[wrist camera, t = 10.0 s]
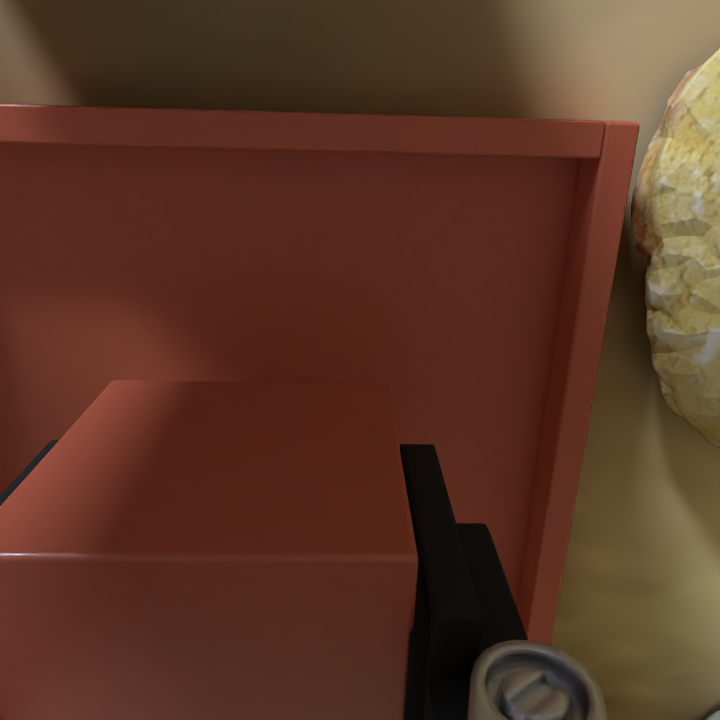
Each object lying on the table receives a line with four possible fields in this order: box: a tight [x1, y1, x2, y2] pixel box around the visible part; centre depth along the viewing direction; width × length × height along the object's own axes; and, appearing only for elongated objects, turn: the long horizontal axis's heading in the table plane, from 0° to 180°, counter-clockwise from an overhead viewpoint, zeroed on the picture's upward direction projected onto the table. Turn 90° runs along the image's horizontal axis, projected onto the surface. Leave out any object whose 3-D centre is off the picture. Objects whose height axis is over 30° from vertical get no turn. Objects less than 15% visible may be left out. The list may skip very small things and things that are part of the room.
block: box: [0, 380, 418, 720], centre depth 9 cm, size 4×4×4 cm
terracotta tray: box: [0, 104, 640, 645], centre depth 13 cm, size 13×12×2 cm
